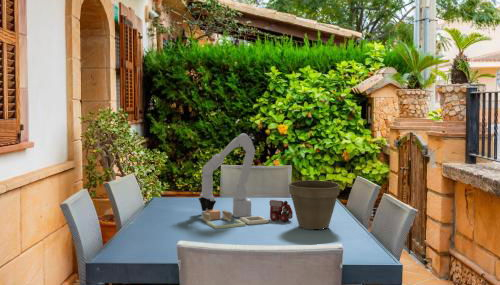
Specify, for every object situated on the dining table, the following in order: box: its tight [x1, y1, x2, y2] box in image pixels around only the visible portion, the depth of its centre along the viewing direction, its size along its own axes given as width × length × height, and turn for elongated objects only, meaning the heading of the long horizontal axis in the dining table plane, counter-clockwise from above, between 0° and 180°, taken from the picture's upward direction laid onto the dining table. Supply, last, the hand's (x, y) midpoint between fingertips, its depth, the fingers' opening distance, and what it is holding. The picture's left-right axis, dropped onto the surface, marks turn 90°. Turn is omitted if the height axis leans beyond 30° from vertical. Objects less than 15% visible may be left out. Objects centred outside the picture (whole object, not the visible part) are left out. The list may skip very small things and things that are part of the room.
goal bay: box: [206, 218, 247, 230], centre depth 276 cm, size 16×11×1 cm
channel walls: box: [201, 209, 233, 223], centre depth 286 cm, size 13×8×4 cm, turn 117°
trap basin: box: [239, 215, 269, 226], centre depth 284 cm, size 11×10×2 cm
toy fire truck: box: [269, 199, 294, 223], centre depth 289 cm, size 7×12×10 cm, turn 68°
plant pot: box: [288, 179, 341, 230], centre depth 274 cm, size 25×25×22 cm
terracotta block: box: [204, 208, 221, 221], centre depth 291 cm, size 6×6×4 cm
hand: (206, 212), depth 298 cm, fingers open, 7 cm apart
